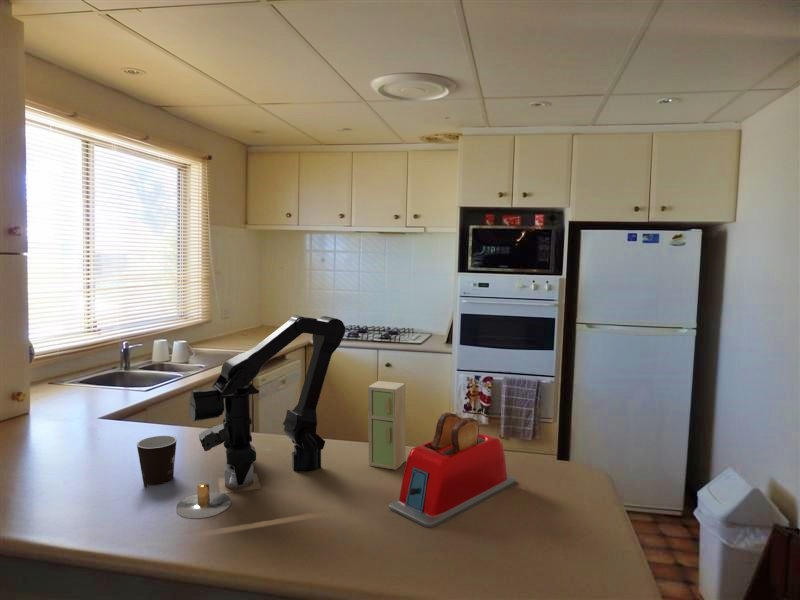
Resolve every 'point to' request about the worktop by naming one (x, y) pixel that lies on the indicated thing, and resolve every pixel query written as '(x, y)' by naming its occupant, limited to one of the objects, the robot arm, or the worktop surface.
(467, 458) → the toaster
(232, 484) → the ring
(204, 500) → the disc
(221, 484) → the stand
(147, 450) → the coffee mug
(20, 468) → the worktop surface
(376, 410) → the toy refrigerator
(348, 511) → the worktop surface
